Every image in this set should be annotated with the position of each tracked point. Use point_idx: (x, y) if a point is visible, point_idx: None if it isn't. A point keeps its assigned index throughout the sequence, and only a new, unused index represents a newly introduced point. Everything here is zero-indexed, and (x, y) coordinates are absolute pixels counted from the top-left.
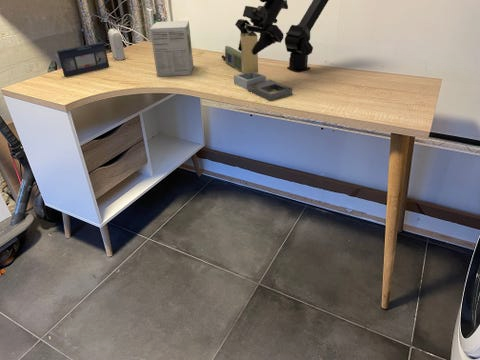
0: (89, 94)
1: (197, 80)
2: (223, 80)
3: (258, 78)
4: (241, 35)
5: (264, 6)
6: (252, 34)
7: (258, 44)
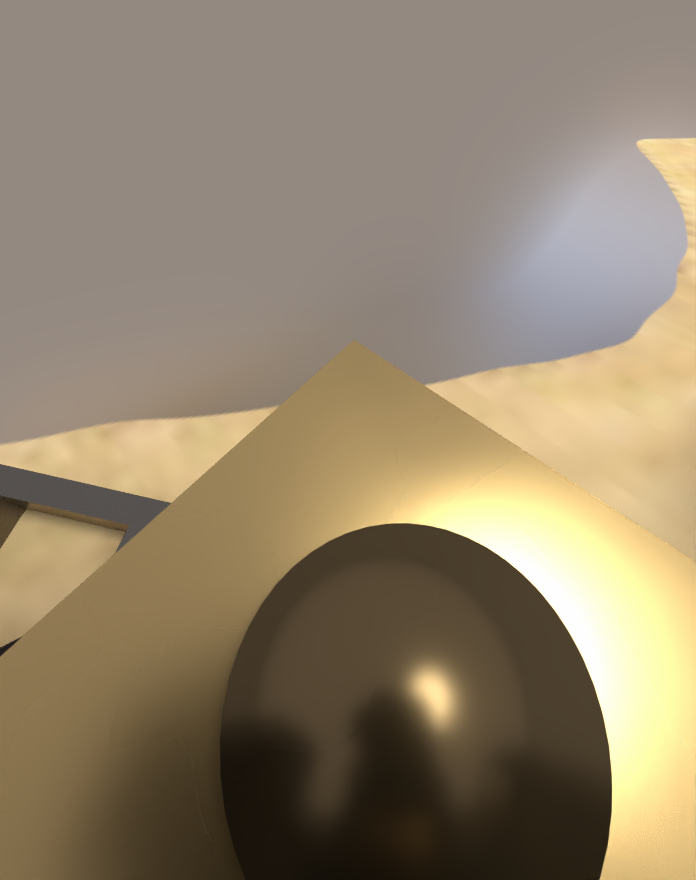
0: (690, 190)
1: (639, 486)
2: None
3: None
4: (520, 454)
5: None
6: (229, 824)
7: (1, 650)
